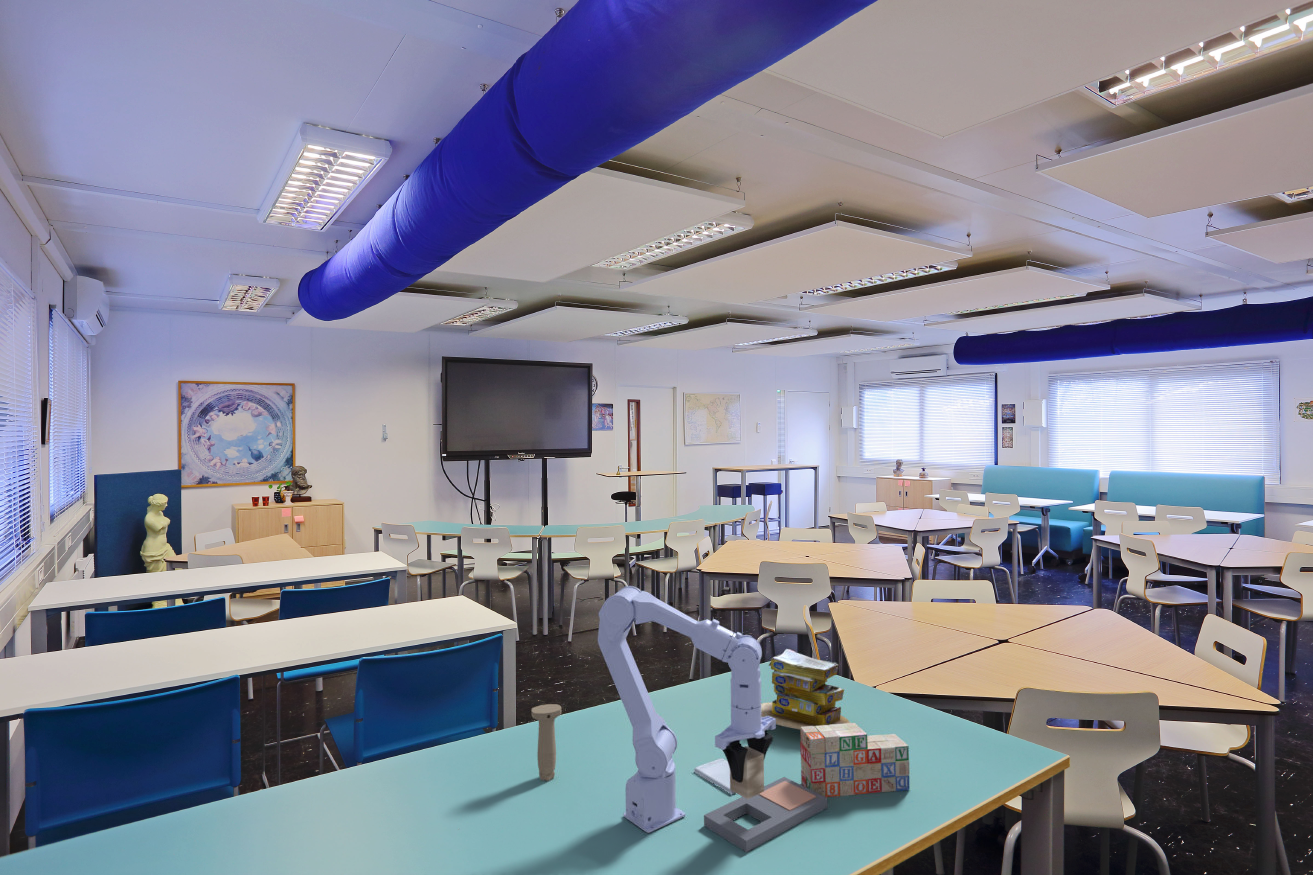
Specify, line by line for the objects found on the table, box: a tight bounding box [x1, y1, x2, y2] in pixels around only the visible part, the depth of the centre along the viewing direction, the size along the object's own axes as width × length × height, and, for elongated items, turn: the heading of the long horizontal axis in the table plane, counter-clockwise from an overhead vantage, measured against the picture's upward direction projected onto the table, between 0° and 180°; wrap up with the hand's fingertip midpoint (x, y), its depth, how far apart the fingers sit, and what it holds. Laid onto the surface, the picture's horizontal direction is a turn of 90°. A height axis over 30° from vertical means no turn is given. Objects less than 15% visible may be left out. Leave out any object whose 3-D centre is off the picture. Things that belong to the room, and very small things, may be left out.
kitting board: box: [703, 776, 828, 853], centre depth 132 cm, size 23×11×2 cm, turn 129°
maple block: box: [730, 745, 765, 799], centre depth 129 cm, size 4×4×7 cm
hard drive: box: [693, 758, 735, 795], centre depth 148 cm, size 2×8×12 cm
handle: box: [531, 703, 562, 782], centre depth 148 cm, size 5×6×15 cm
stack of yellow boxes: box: [761, 648, 851, 730], centre depth 176 cm, size 25×25×17 cm
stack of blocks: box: [799, 722, 911, 798], centre depth 143 cm, size 21×6×12 cm, turn 97°
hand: (746, 775), depth 129 cm, fingers closed on maple block, 4 cm apart
